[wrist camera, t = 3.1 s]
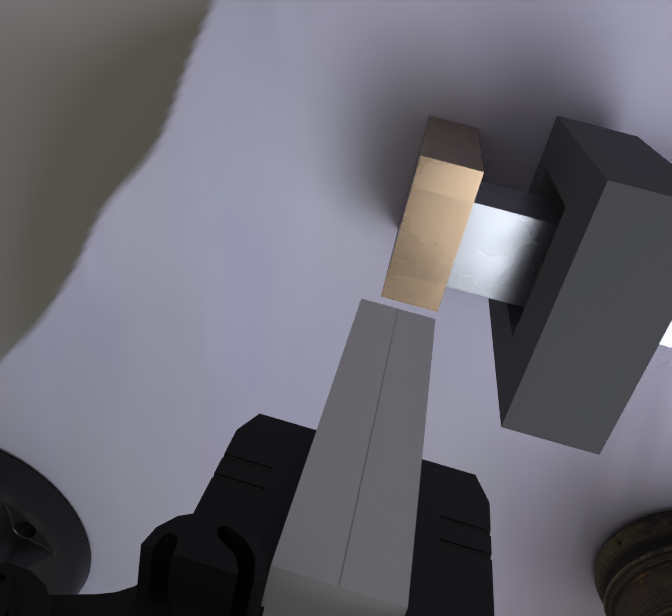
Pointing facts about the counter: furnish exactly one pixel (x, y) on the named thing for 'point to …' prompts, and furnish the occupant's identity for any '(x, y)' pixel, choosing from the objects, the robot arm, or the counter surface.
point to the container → (637, 569)
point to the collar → (589, 289)
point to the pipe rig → (468, 228)
